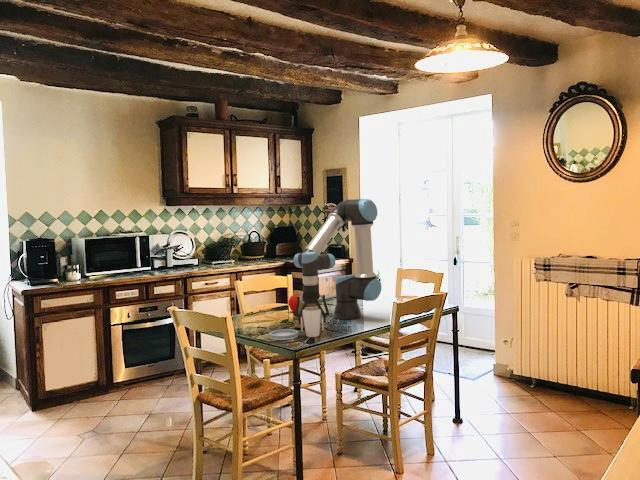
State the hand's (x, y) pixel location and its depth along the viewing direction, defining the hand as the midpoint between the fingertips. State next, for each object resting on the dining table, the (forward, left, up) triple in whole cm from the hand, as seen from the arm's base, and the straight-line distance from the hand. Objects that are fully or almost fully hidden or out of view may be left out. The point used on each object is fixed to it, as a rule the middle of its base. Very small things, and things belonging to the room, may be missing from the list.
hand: (312, 330), depth 275 cm
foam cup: (0, 0, -3) cm, 3 cm away
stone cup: (+3, -20, -3) cm, 20 cm away
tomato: (+9, -60, -3) cm, 61 cm away
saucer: (+14, 0, -3) cm, 14 cm away
